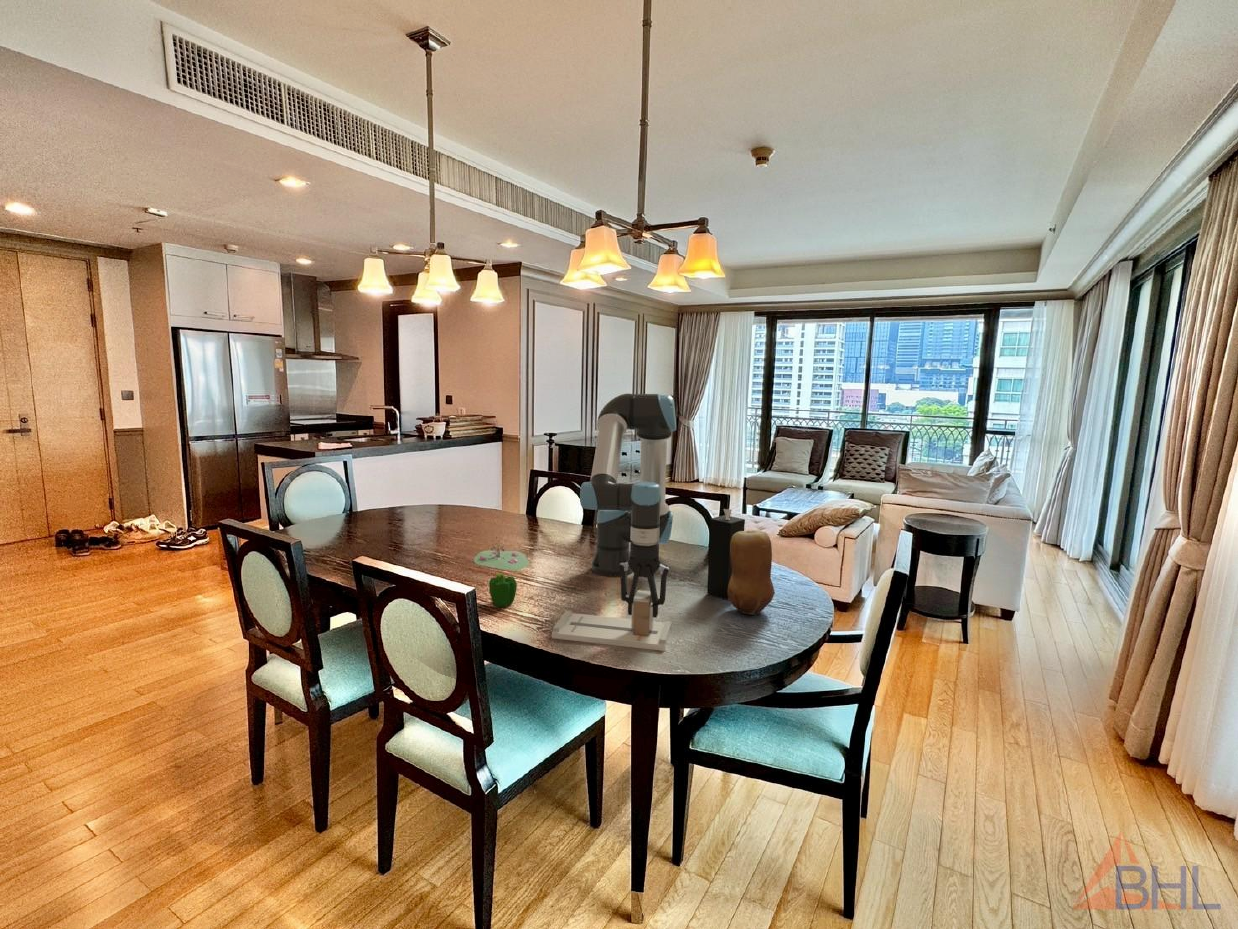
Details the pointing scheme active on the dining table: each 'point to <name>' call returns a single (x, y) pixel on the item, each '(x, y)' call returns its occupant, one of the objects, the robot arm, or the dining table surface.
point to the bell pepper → (502, 590)
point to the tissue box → (721, 552)
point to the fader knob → (641, 612)
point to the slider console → (610, 631)
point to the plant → (502, 559)
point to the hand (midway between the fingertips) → (642, 627)
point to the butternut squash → (750, 571)
